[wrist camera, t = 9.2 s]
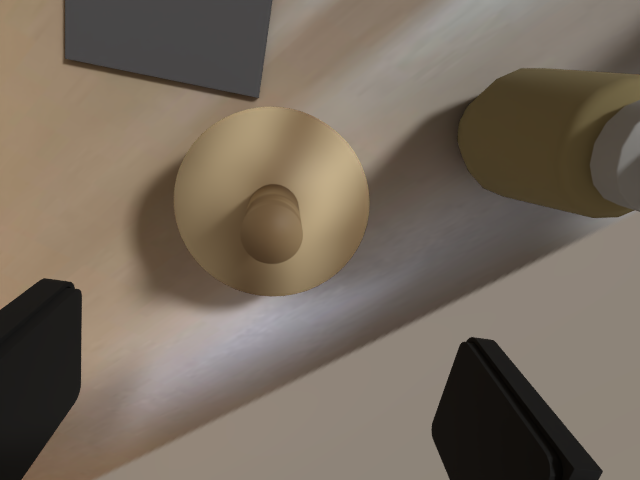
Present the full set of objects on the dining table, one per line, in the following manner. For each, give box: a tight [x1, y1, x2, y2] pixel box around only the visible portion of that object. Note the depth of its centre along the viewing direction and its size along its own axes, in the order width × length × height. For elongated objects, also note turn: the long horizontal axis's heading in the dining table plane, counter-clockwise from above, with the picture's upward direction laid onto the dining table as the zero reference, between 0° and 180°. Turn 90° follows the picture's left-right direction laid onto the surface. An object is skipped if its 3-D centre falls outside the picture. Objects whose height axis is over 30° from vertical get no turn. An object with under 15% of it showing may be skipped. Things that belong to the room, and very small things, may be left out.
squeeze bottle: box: [457, 68, 640, 218], centre depth 21 cm, size 8×8×18 cm
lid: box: [174, 107, 370, 296], centre depth 23 cm, size 12×12×6 cm
